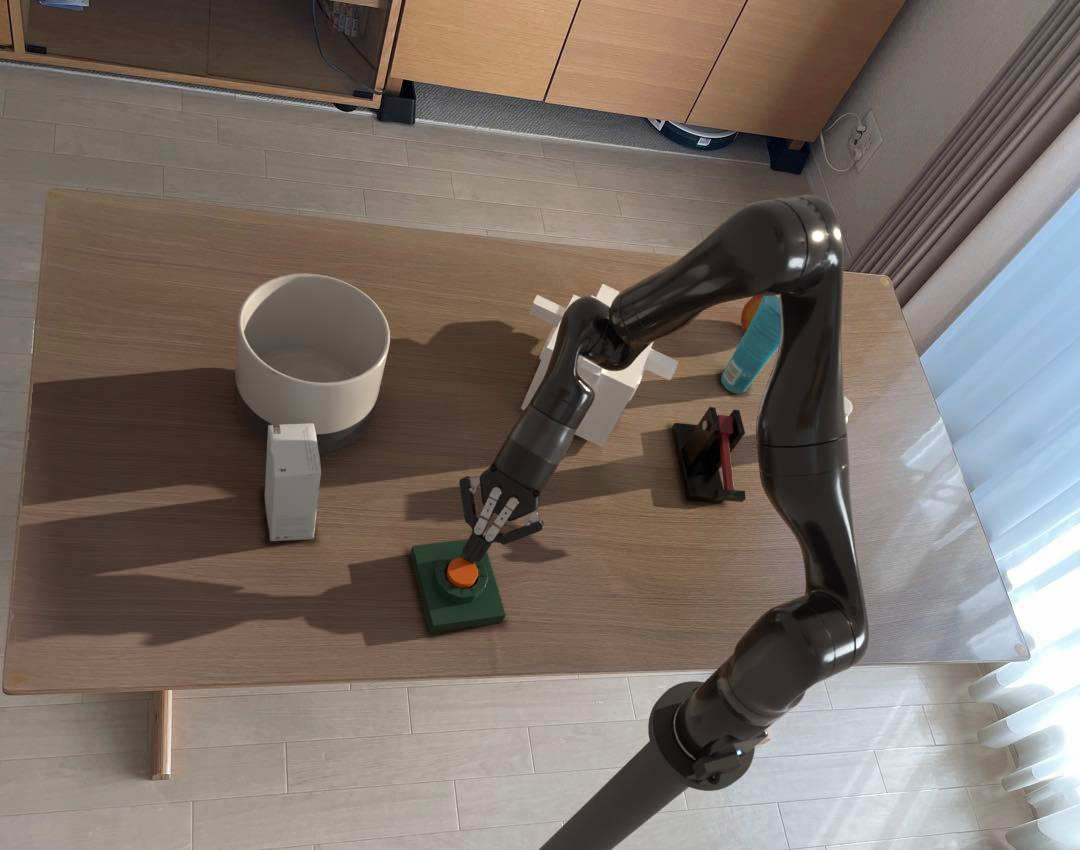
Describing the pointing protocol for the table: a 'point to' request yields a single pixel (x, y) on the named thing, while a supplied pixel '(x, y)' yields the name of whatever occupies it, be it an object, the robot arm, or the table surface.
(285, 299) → the planter
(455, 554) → the button box
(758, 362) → the tube
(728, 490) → the red and black bar
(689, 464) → the black bracket
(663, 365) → the white voxel figure
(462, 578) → the button
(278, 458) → the cosmetic box
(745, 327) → the fruit
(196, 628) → the table surface
